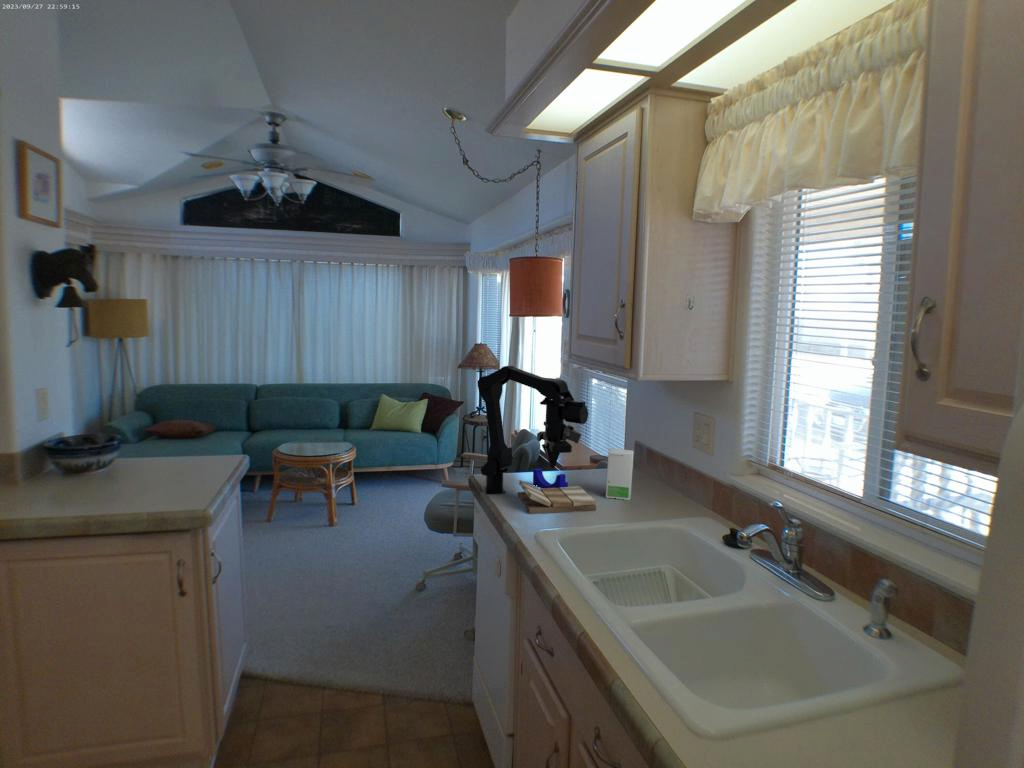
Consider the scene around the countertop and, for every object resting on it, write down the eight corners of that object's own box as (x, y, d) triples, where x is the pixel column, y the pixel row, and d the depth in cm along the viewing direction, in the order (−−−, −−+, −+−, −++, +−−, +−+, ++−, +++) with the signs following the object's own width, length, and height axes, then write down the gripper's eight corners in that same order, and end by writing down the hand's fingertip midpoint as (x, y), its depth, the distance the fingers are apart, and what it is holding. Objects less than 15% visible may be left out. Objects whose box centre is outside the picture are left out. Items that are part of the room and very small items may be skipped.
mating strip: (540, 492, 200) (540, 488, 200) (557, 491, 201) (557, 487, 201) (553, 507, 184) (553, 503, 184) (571, 506, 185) (572, 502, 185)
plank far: (559, 491, 201) (559, 487, 201) (579, 489, 202) (579, 486, 202) (573, 505, 186) (573, 502, 185) (595, 504, 187) (595, 500, 187)
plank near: (518, 483, 198) (520, 480, 198) (537, 491, 200) (538, 488, 200) (529, 498, 182) (531, 494, 182) (549, 506, 184) (551, 503, 184)
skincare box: (605, 498, 199) (606, 452, 197) (606, 492, 205) (608, 447, 204) (631, 500, 197) (632, 453, 195) (632, 494, 203) (633, 449, 202)
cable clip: (567, 490, 208) (568, 473, 207) (559, 493, 204) (559, 476, 204) (541, 483, 216) (541, 467, 215) (532, 486, 213) (533, 469, 212)
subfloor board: (517, 496, 199) (517, 492, 199) (578, 493, 204) (578, 489, 203) (529, 514, 182) (529, 509, 182) (596, 510, 186) (596, 506, 186)
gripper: (589, 425, 182) (586, 475, 184) (569, 414, 200) (567, 460, 202) (553, 425, 180) (551, 476, 182) (537, 414, 198) (535, 460, 200)
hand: (552, 468), depth 192 cm, fingers closed
